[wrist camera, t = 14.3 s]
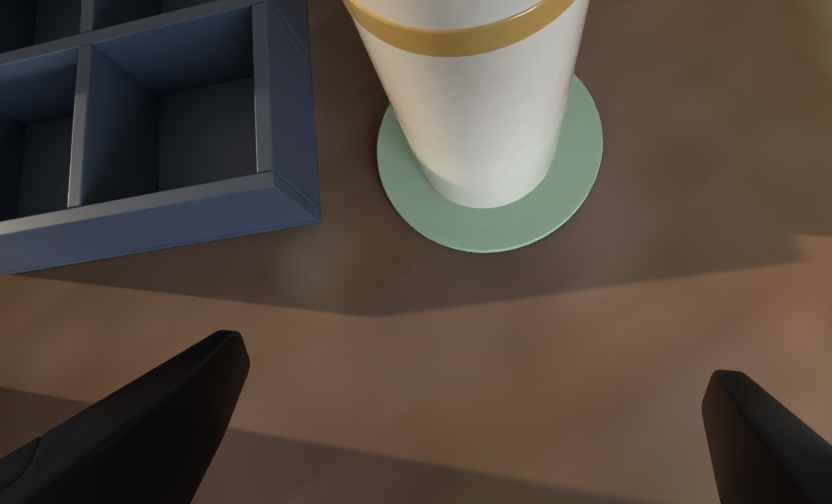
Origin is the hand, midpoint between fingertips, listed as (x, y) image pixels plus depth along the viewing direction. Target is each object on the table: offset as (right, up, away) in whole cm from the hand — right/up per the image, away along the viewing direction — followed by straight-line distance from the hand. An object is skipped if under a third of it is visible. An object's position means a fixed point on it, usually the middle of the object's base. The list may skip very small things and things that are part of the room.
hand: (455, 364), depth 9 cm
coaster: (+2, +7, +11) cm, 13 cm away
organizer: (-13, +10, +14) cm, 22 cm away
